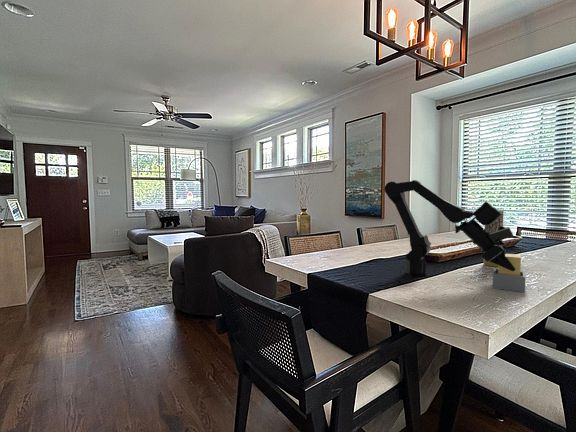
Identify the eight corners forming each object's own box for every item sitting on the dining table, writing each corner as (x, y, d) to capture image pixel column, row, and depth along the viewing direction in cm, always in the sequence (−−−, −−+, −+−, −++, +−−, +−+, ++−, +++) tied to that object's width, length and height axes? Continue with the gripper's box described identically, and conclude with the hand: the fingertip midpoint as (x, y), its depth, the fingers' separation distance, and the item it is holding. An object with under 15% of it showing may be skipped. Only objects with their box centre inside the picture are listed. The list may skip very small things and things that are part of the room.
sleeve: (492, 287, 106) (493, 273, 106) (493, 281, 113) (494, 268, 113) (524, 292, 101) (525, 277, 101) (524, 285, 108) (524, 271, 108)
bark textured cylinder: (505, 267, 136) (507, 209, 134) (489, 267, 136) (491, 210, 134) (494, 263, 142) (496, 209, 141) (480, 263, 142) (481, 209, 141)
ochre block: (497, 287, 107) (498, 255, 106) (498, 283, 112) (499, 253, 111) (519, 290, 103) (520, 257, 102) (519, 286, 108) (520, 254, 107)
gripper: (496, 221, 100) (538, 258, 95) (498, 217, 116) (534, 249, 110) (467, 243, 106) (505, 280, 100) (473, 236, 121) (506, 268, 115)
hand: (514, 268), depth 106 cm, fingers closed on ochre block, 6 cm apart
